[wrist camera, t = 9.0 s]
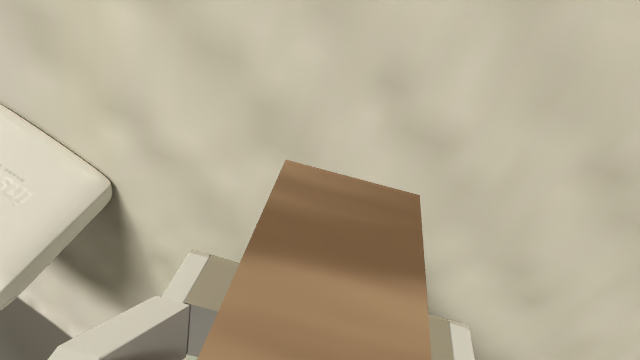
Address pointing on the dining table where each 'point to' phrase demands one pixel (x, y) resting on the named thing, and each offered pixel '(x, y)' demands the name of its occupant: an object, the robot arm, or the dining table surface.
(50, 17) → the dining table surface
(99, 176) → the photo printer
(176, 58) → the dining table surface
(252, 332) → the wooden handled metal tool
